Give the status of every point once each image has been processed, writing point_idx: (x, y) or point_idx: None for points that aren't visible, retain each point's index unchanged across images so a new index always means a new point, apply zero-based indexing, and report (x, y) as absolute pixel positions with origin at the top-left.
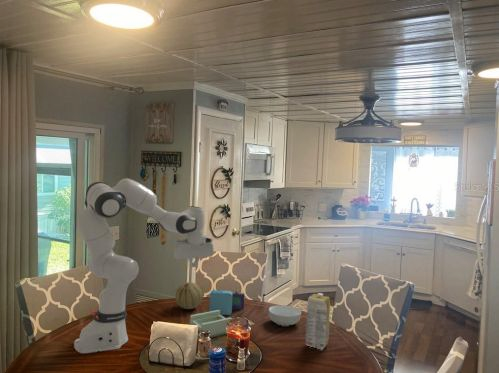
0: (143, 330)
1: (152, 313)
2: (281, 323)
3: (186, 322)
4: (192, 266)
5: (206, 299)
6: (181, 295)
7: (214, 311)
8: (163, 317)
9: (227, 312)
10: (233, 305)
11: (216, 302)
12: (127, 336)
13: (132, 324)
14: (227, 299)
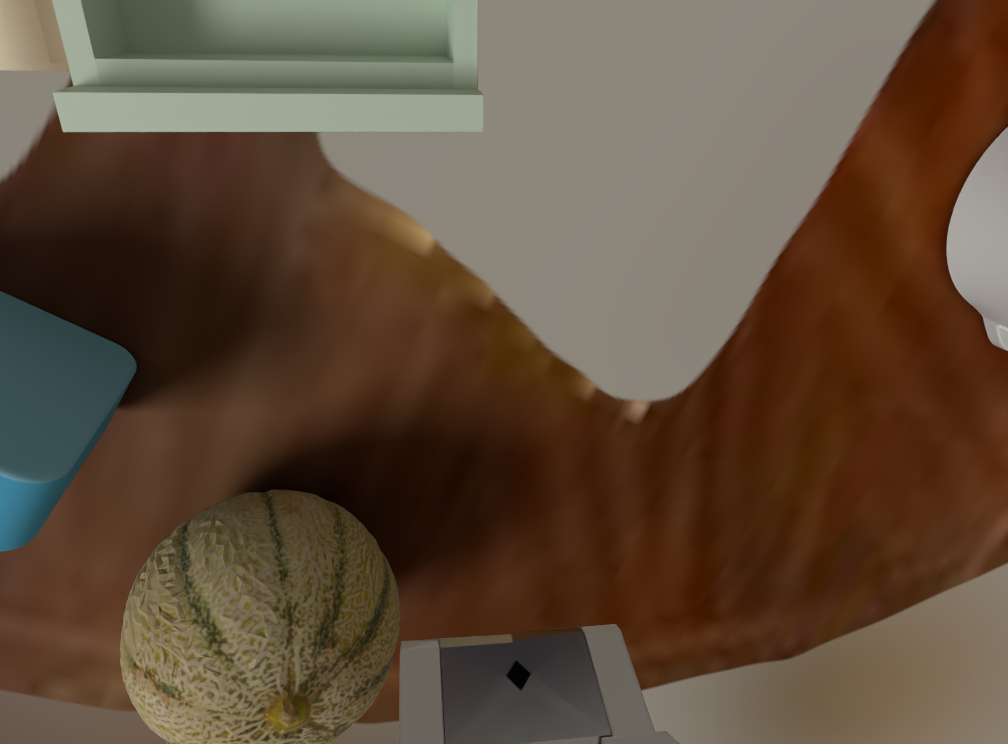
0: (792, 277)
1: (582, 533)
2: None
3: (424, 274)
4: (579, 635)
5: (60, 649)
6: (374, 594)
7: (143, 104)
8: (547, 442)
9: None
10: None
11: (17, 385)
12: (986, 180)
13: (792, 409)
14: None
